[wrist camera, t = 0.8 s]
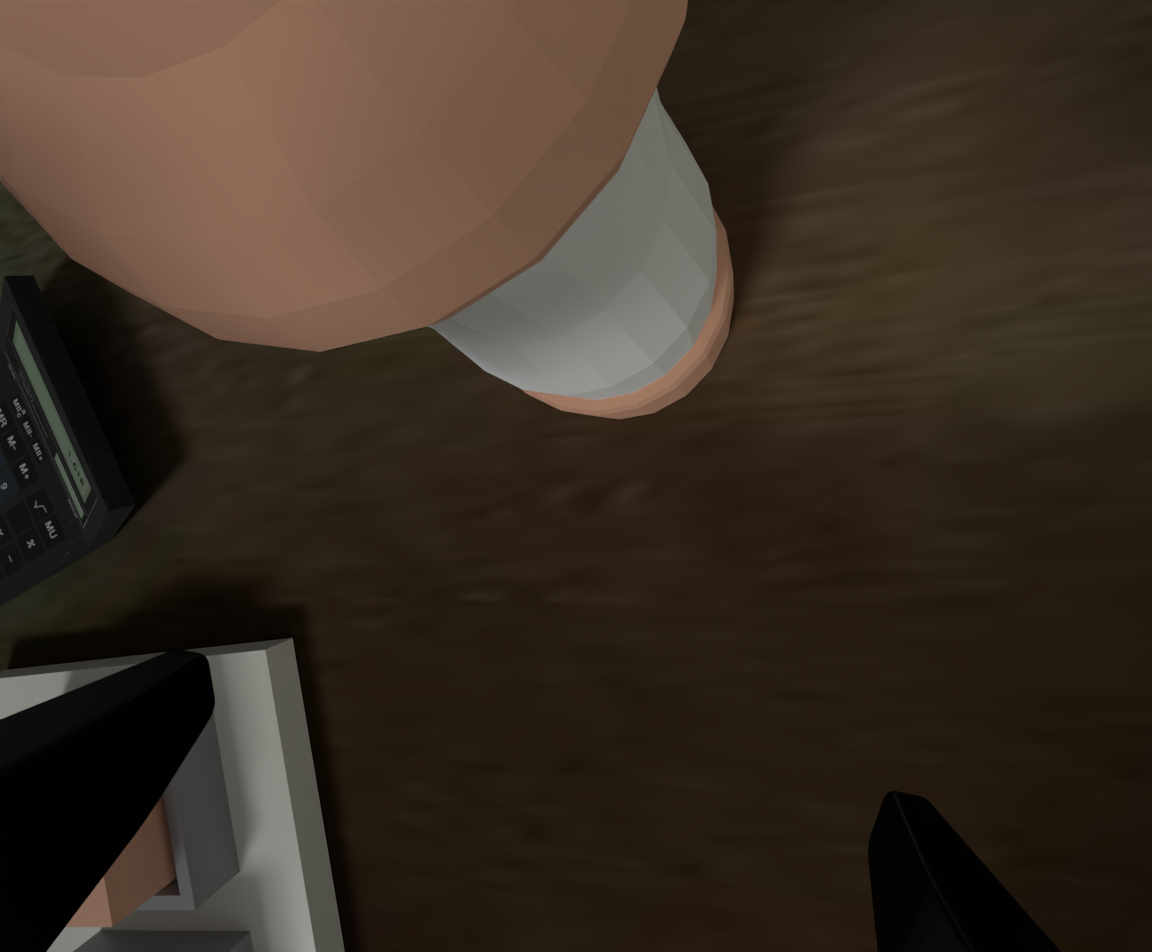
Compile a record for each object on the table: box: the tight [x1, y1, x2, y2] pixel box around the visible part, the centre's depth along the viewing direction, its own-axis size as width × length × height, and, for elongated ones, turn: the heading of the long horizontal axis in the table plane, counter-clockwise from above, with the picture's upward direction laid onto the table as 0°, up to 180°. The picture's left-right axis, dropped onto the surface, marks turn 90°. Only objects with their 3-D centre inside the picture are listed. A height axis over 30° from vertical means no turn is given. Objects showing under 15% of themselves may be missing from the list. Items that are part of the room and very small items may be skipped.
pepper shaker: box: [0, 0, 734, 419], centre depth 13 cm, size 7×7×19 cm
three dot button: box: [66, 795, 177, 927], centre depth 23 cm, size 5×5×2 cm
